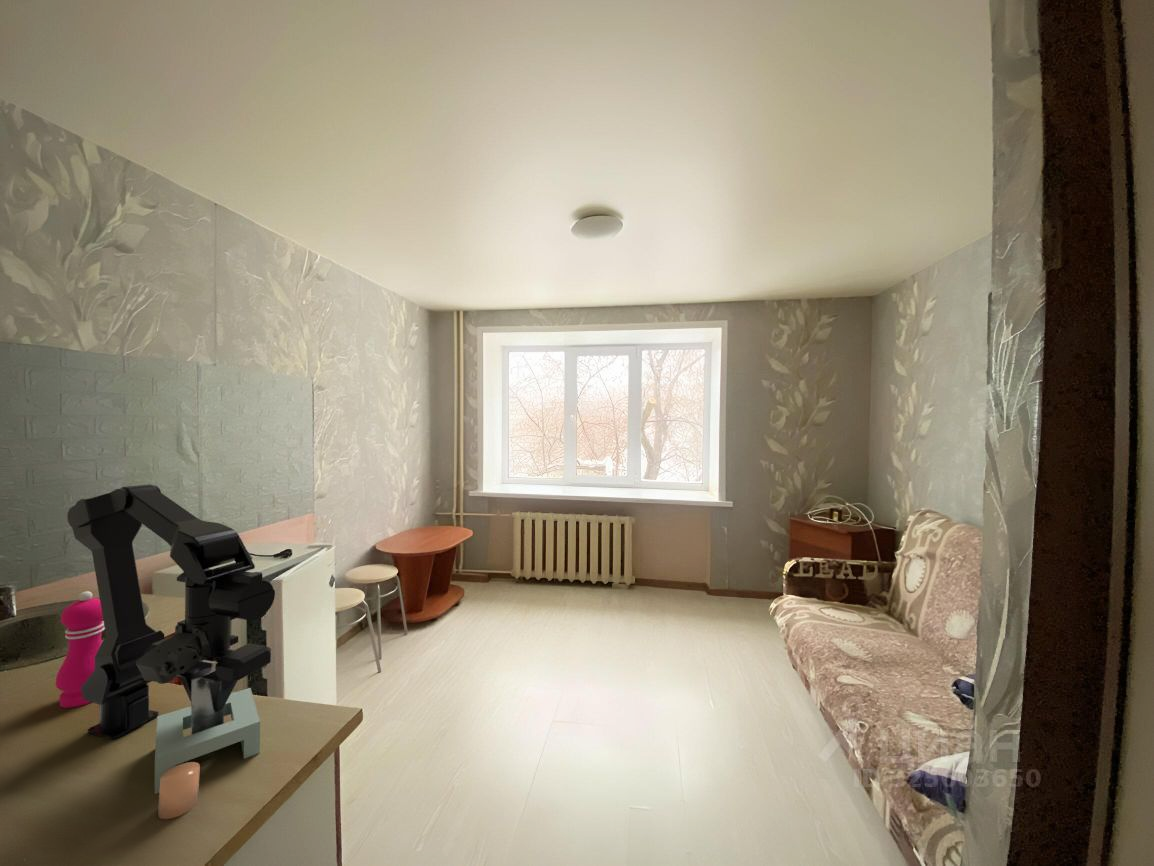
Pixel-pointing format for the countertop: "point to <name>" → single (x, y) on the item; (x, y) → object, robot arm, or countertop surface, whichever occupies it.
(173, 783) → the terracotta stub
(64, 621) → the pepper mill
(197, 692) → the steel pin
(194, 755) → the slate pin jig
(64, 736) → the countertop surface
